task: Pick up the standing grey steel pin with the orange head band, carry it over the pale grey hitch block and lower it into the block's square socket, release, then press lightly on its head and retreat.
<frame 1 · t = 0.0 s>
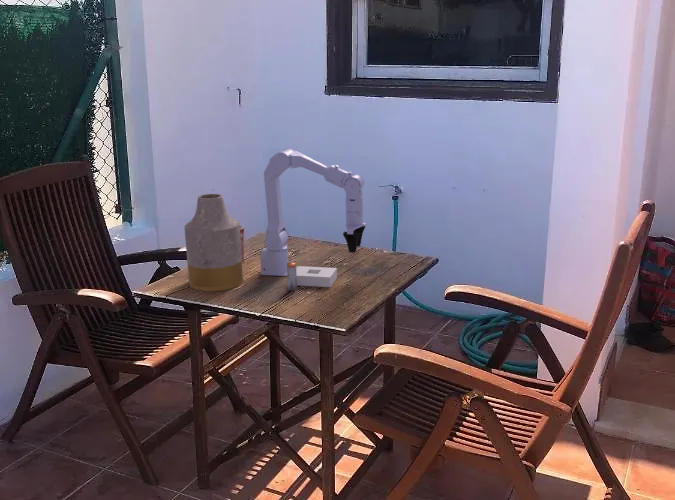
hand: (354, 249, 251), 10 cm above the table, fingers open, 7 cm apart
hitch block: (314, 281, 250), on the table
vase: (216, 283, 251), on the table
pin: (292, 289, 243), on the table
mug: (230, 261, 274), on the table
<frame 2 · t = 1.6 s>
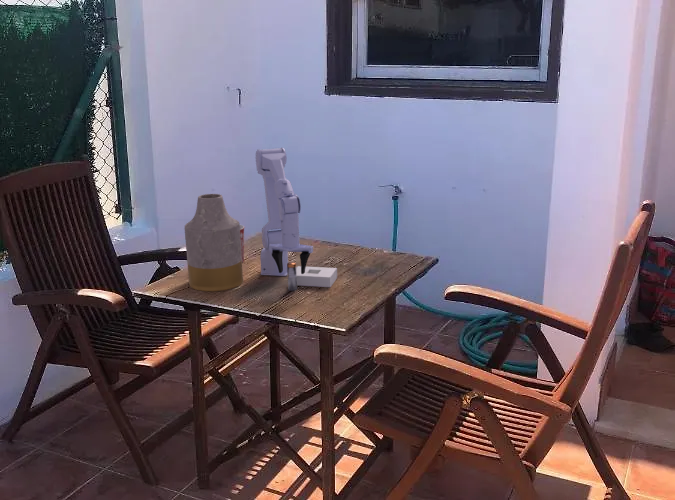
hand: (292, 272, 241), 6 cm above the table, fingers open, 7 cm apart
nothing on the table moved.
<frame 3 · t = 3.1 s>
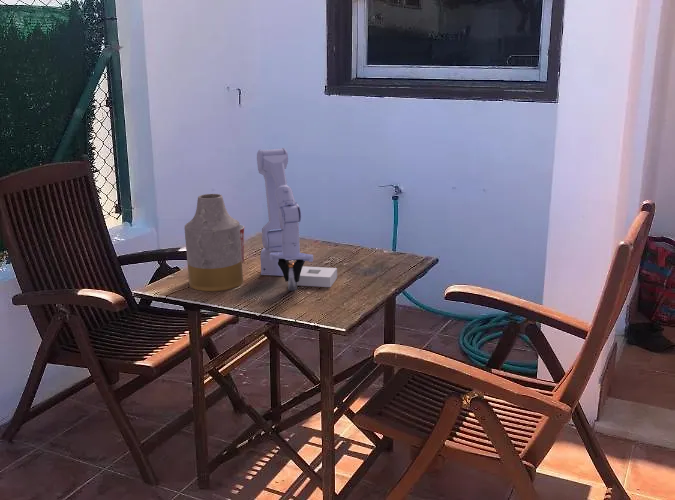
hand: (292, 280, 242), 3 cm above the table, fingers closed on pin, 3 cm apart
pin: (292, 289, 243), on the table, touching gripper
everything else where it was.
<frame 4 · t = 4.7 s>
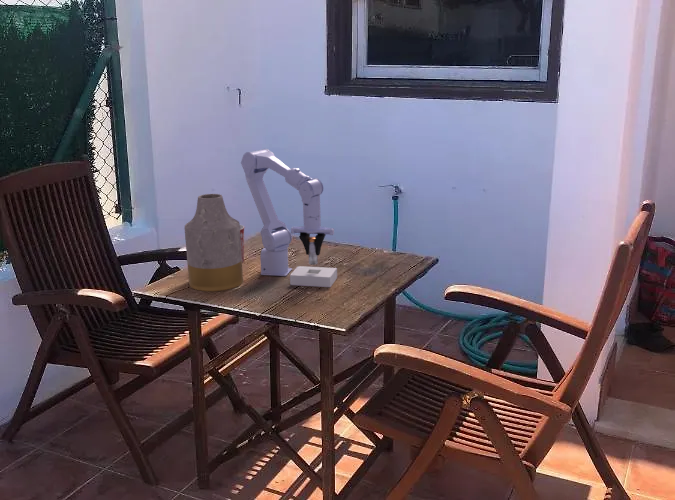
hand: (313, 254, 247), 10 cm above the table, fingers closed on pin, 3 cm apart
pin: (313, 263, 248), point 7 cm above the table, touching gripper
everything else where it was.
when the fingers open (5 cm above the table, at t = 6.2 s): pin drops 2 cm, resting in hitch block.
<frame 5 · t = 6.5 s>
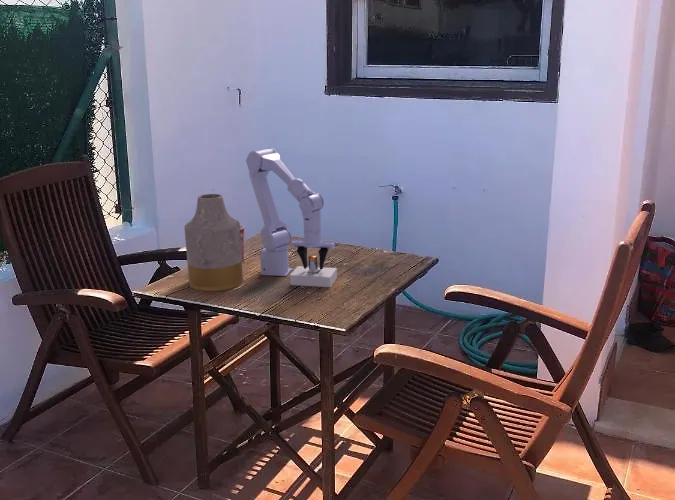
hand: (313, 268, 249), 5 cm above the table, fingers open, 5 cm apart
pin: (313, 281, 250), resting in hitch block
everything else where it was.
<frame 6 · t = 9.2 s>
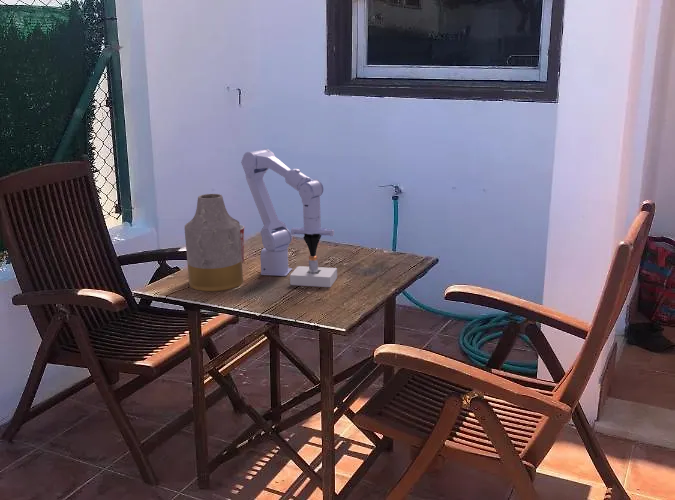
hand: (313, 255, 247), 9 cm above the table, fingers closed
nothing on the table moved.
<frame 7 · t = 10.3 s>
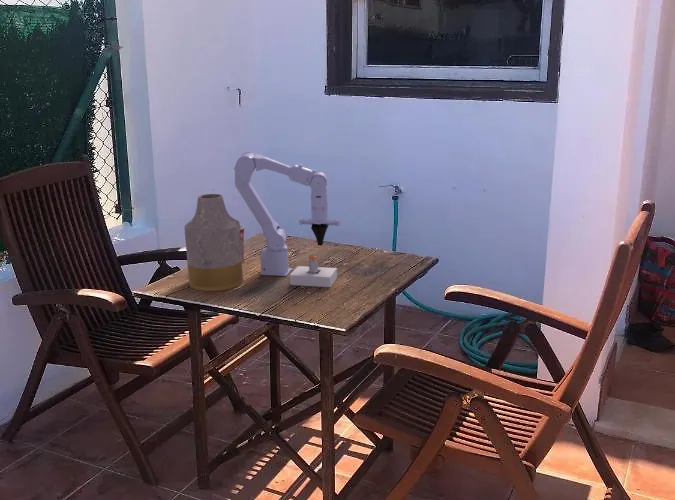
hand: (320, 244, 256), 10 cm above the table, fingers closed
nothing on the table moved.
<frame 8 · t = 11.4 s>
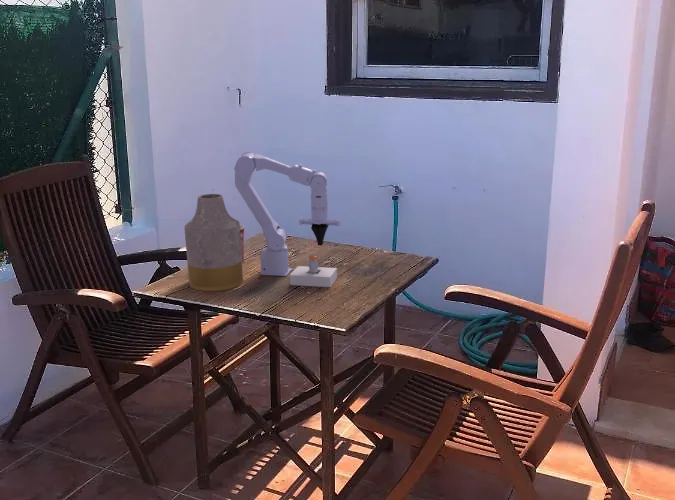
hand: (320, 244, 256), 10 cm above the table, fingers closed
nothing on the table moved.
at the end: pin 0.3 cm off-centre on the hitch block, point 0.0 cm above the hitch block's base; pin tilted 0°; the gripper is holding nothing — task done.
